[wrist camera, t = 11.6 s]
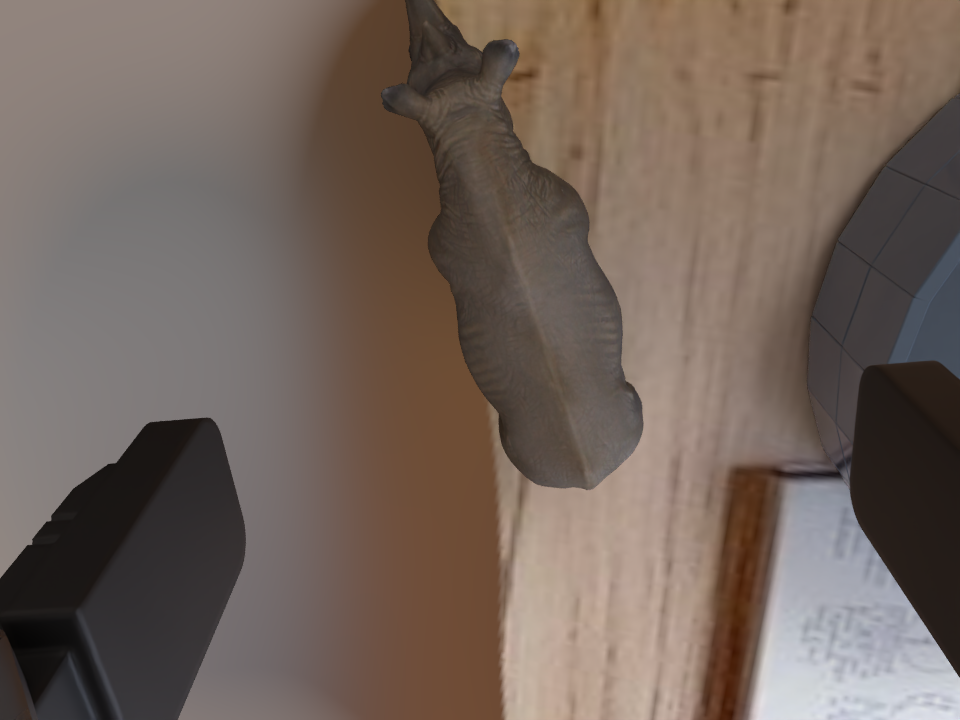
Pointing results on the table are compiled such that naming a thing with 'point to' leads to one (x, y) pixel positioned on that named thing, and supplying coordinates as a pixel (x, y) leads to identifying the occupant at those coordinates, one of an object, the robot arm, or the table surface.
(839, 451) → the bowl
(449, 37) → the rhino figurine
